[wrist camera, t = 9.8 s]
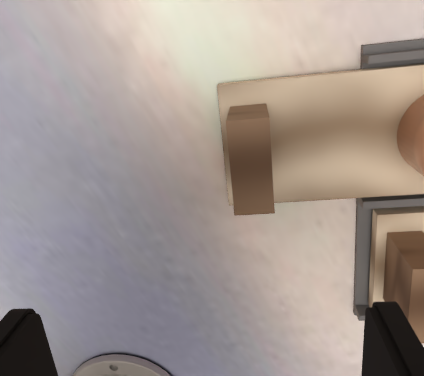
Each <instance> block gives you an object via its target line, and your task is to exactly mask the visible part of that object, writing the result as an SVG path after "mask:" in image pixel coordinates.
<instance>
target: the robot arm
mask: <svg viewBox="0 0 424 376" xmlns="http://www.w3.org/2000/svg"><path fill="white" fill-rule="evenodd" d="M0 376H58V374H57V370H56V367H55V364H54V360H53V357H52V354H51V350H50V347H49V343H48V340H47V337H46V333H45V330H44V327H43V323H42V320H41V317H40V315H39V314H36V313H35V311H34V310H33V309H12V310H10V311H9V312H8V313H7V314H6V315H5V316H4V318H3V319H2V320H1V321H0ZM72 376H170V375H169V374H168V373H167V372H166V371H164V370H163V369H162V368H160V367H159V366H157V365H155V364H153V363H151V362H149V361H147V360H144V359H141V358H138V357H135V356H129V355H118V354H111V355H104V356H99V357H96V358H93V359H90V360H89V361H87V362H85V363H83V364H82V365H81V366H80V367H79V368H78V369H76V371H75V372H74V374H73V375H72ZM362 376H424V347H423V346H422V344H421V342H420V340H419V339H418V337H417V335H416V334H415V332H414V330H413V328H412V327H411V325H410V323H409V321H408V320H407V318H406V316H405V315H404V313H403V311H402V309H401V308H400V306H399V304H398V303H397V302H395V301H389V302H373V304H372V307H368V308H366V311H365V326H364V344H363V361H362Z"/></svg>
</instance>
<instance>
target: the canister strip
mask: <svg viewBox="0 0 424 376" xmlns="http://www.w3.org/2000/svg"><path fill="white" fill-rule="evenodd" d="M217 91H218V101H219V111H220V121H221V131H222V141H223V151H224V161H225V171H226V181H227V191H228V201H229V206H231V205H234V215H252V214H269V213H275V211H274V203H281V202H297V201H314V200H330V199H347V198H363V197H380V196H397V195H413V194H424V176H423V175H421V174H420V173H419V172H418V171H416V170H415V169H414V168H413V167H411V166H410V165H409V164H408V163H407V162H406V161H405V160H404V159H403V157H402V156H401V154H400V152H399V149H398V145H397V130H398V126H399V123H400V121H401V118H402V117H403V115H404V113H405V112H406V110H407V109H408V108H409V107H410V106H411V104H412V103H413V102H415V101H416V100H417V99H418V98H420V97H421V96H422V95H424V63H419V64H409V65H399V66H389V67H379V68H369V69H359V70H350V71H340V72H330V73H320V74H310V75H300V76H290V77H280V78H270V79H260V80H250V81H240V82H230V83H220V84H218V85H217Z"/></svg>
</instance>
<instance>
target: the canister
mask: <svg viewBox="0 0 424 376" xmlns="http://www.w3.org/2000/svg"><path fill="white" fill-rule="evenodd" d="M397 145H398V149H399V152H400V154H401V156H402V157H403V159H404V160H405V161H406V162H407V163H408V164H409V165H410V166H411V167H413V168H414V169H415V170H416V171H418V172H419V173H420V174H421V175H423V176H424V95H422V96H421V97H420V98H418V99H417V100H416V101H415V102H413V103H412V104H411V106H410V107H409V108H408V109H407V110H406V112H405V113H404V115H403V117H402V118H401V121H400V123H399V126H398V130H397Z"/></svg>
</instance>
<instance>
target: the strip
mask: <svg viewBox="0 0 424 376" xmlns="http://www.w3.org/2000/svg"><path fill="white" fill-rule="evenodd" d="M389 301H395V302H397V303H398V304H399V306H400V308H401V309H402V311H403V313H404V315H405V316H406V318H407V320H408V321H409V323H410V325H411V327H412V328H413V330H414V332H415V334H416V335H417V337H418V339H419V340H420V342H421V343H424V206H412V207H395V208H377V209H373V213H372V235H371V256H370V278H369V299H368V304H369V307H372V304H373V302H389Z"/></svg>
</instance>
